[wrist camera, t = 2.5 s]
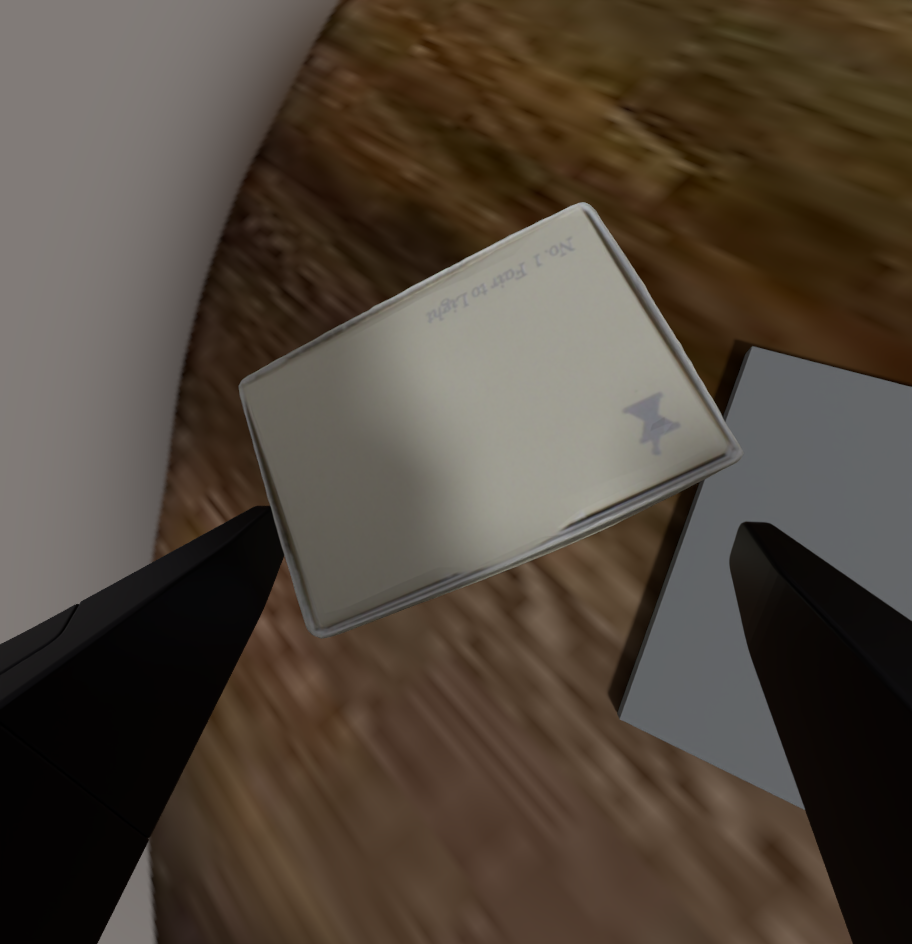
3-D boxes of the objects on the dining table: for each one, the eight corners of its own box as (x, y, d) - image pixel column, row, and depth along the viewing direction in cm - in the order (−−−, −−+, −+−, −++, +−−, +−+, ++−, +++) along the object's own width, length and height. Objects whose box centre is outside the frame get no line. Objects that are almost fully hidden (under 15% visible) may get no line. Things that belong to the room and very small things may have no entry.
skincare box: (569, 425, 18) (601, 175, 6) (621, 528, 17) (774, 453, 5) (427, 488, 19) (223, 369, 7) (468, 592, 18) (304, 650, 6)
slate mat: (1044, 922, 13) (1068, 938, 12) (617, 713, 16) (619, 719, 15) (1158, 461, 14) (1184, 457, 14) (745, 353, 17) (752, 346, 17)
